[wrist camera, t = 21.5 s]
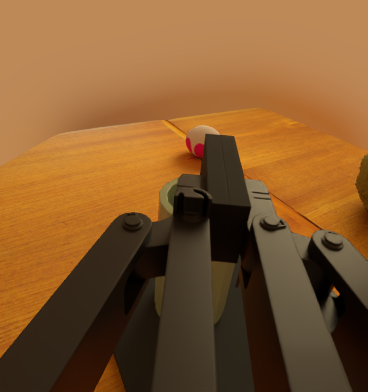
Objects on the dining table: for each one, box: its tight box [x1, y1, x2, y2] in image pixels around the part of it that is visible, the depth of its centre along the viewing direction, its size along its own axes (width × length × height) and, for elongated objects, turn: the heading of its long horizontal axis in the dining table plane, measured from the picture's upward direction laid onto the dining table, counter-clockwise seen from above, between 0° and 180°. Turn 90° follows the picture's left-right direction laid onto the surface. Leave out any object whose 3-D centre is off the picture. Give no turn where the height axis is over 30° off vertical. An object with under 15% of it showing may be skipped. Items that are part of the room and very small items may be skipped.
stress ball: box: [186, 125, 220, 160], centre depth 58 cm, size 8×8×7 cm
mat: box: [113, 255, 255, 392], centre depth 30 cm, size 20×18×1 cm
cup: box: [154, 178, 235, 325], centre depth 26 cm, size 7×7×12 cm
